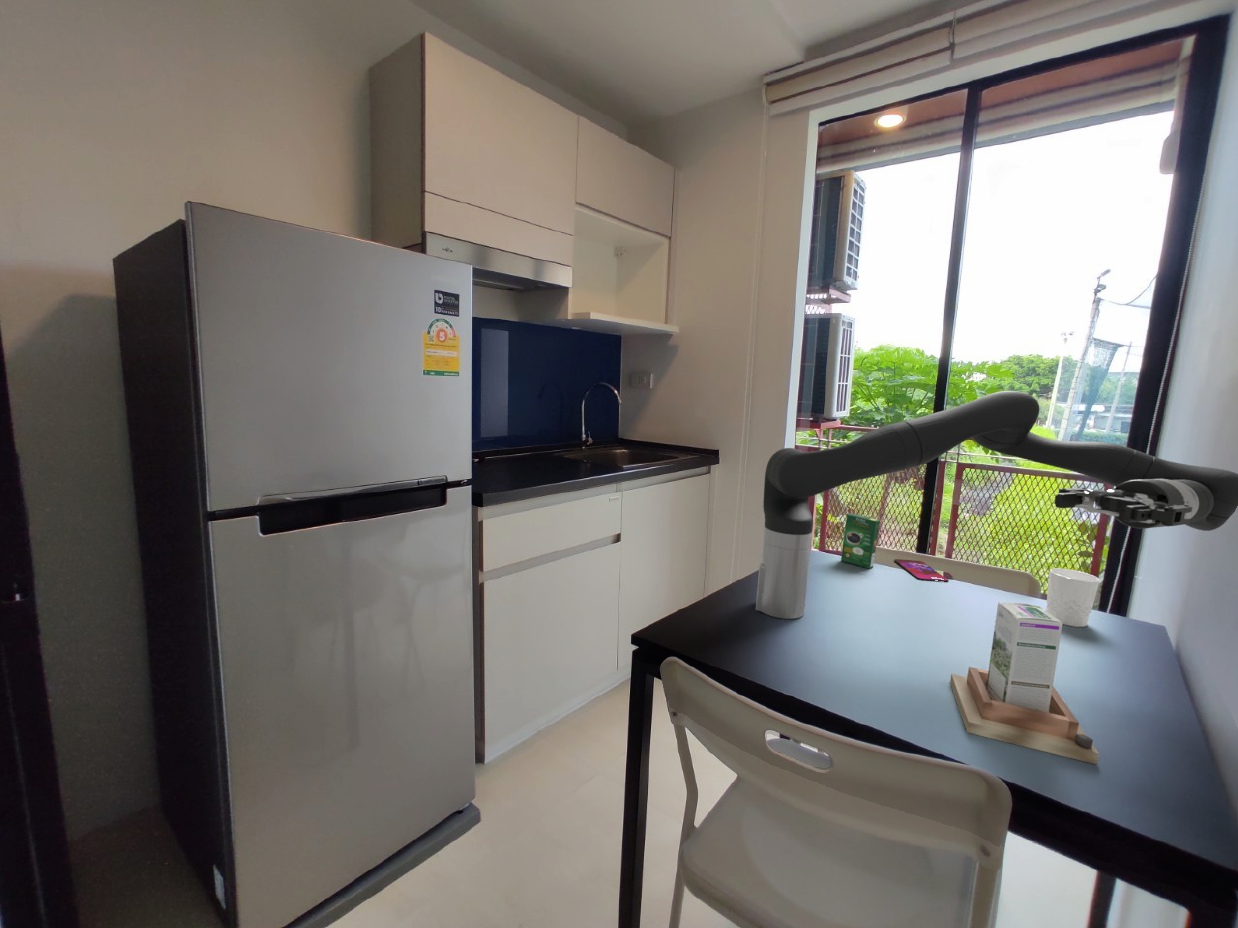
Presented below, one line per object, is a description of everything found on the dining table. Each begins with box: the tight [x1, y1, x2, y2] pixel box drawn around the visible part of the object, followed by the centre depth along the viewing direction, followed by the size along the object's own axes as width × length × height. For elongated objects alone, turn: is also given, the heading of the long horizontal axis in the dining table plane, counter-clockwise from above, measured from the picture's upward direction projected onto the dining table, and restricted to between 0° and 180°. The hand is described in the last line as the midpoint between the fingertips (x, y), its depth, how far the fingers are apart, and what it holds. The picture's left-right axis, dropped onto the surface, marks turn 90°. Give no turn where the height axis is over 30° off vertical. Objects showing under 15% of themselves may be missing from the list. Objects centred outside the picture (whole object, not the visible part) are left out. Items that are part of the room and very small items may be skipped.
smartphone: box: [893, 558, 949, 583], centre depth 141 cm, size 8×1×15 cm
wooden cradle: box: [949, 666, 1100, 765], centre depth 77 cm, size 14×14×4 cm
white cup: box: [1045, 567, 1100, 628], centre depth 113 cm, size 8×8×10 cm
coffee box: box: [840, 513, 881, 570], centre depth 143 cm, size 8×3×13 cm, turn 44°
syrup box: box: [986, 602, 1064, 713], centre depth 76 cm, size 6×6×14 cm
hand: (1091, 507), depth 79 cm, fingers open, 8 cm apart
